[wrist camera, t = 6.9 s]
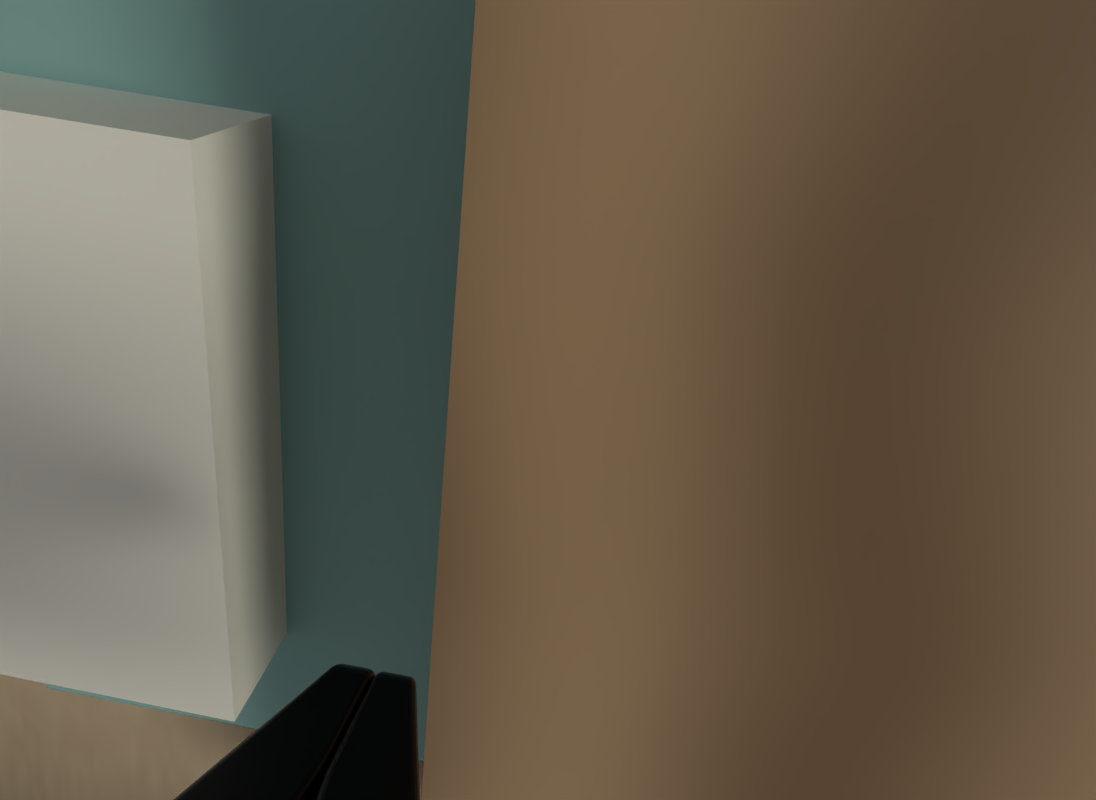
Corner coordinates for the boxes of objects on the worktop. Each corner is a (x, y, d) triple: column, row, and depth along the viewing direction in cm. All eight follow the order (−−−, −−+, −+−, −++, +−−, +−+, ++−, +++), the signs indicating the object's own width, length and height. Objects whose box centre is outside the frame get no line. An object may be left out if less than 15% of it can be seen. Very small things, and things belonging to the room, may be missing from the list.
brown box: (1466, -44, 8) (2055, -70, 5) (938, 883, 16) (1016, 1142, 12) (561, -157, 9) (492, -252, 5) (463, 789, 16) (406, 1010, 13)
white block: (-328, 56, 9) (-164, 45, 11) (-119, 649, 13) (-27, 571, 15) (190, 139, 9) (271, 115, 10) (234, 721, 13) (287, 633, 15)
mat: (592, -48, 9) (591, -50, 9) (491, 761, 16) (488, 774, 16) (-132, -144, 10) (-153, -147, 10) (57, 676, 16) (47, 687, 16)
